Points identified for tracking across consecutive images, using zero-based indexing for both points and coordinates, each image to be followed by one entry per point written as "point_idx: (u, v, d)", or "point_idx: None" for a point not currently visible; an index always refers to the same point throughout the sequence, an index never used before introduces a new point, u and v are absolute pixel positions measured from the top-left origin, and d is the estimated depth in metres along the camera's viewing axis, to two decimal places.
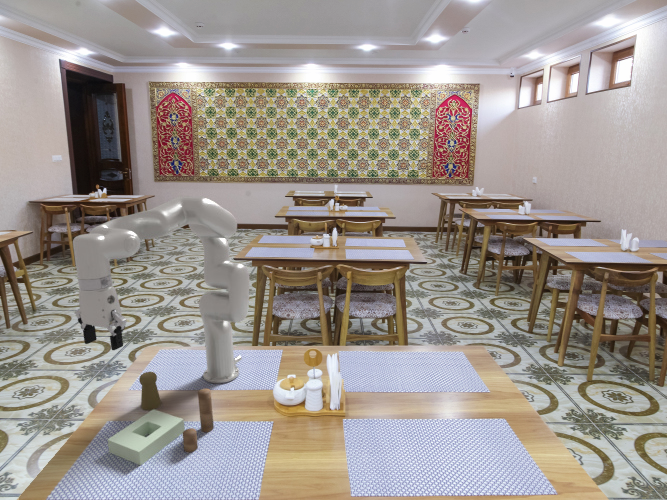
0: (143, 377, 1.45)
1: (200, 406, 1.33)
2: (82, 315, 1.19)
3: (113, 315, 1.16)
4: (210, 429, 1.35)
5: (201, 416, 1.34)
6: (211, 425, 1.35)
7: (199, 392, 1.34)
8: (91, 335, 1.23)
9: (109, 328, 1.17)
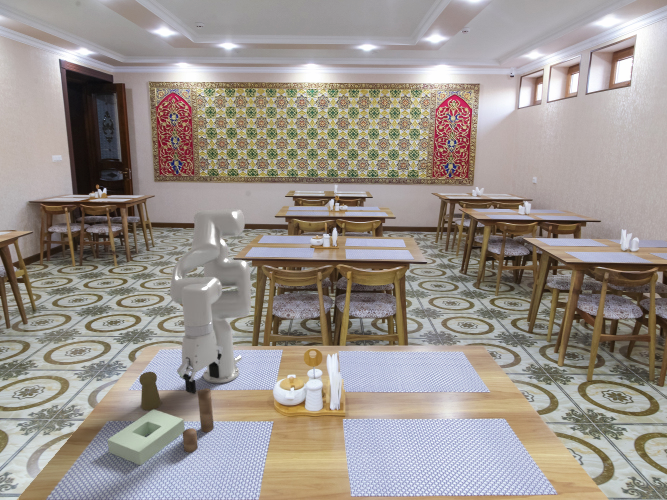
0: (143, 377, 1.45)
1: (200, 406, 1.33)
2: (197, 363, 1.27)
3: None
4: (210, 429, 1.35)
5: (201, 416, 1.34)
6: (211, 425, 1.35)
7: (199, 392, 1.34)
8: None
9: (216, 359, 1.35)
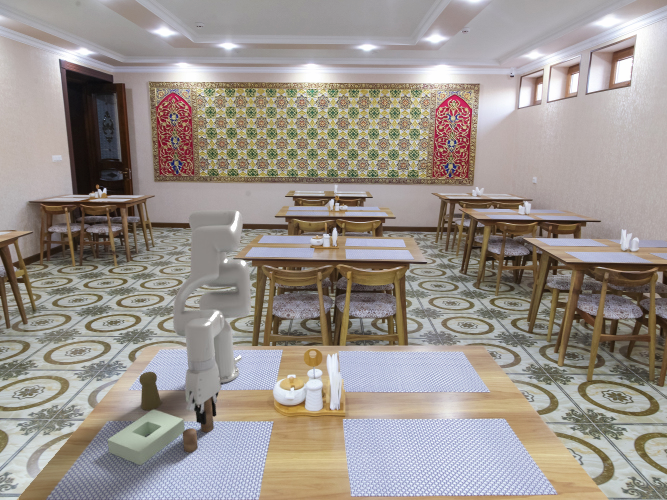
0: (144, 377, 1.45)
1: None
2: (201, 397, 1.30)
3: None
4: (210, 429, 1.35)
5: None
6: (211, 425, 1.35)
7: None
8: None
9: (214, 396, 1.36)
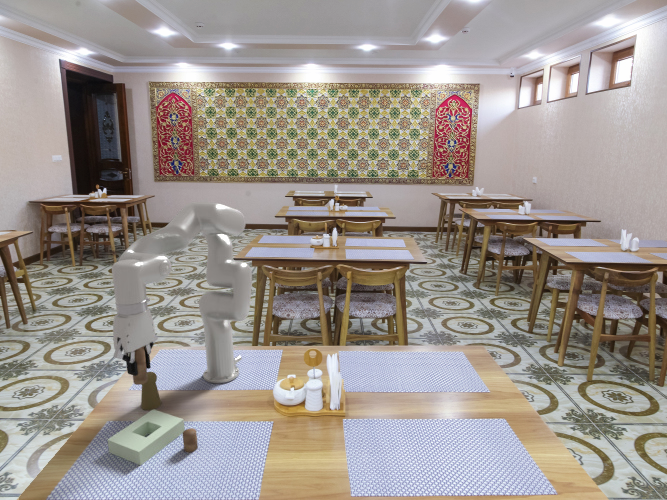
0: None
1: None
2: (130, 344, 1.19)
3: None
4: (143, 382, 1.25)
5: None
6: (144, 377, 1.25)
7: None
8: None
9: (148, 346, 1.26)
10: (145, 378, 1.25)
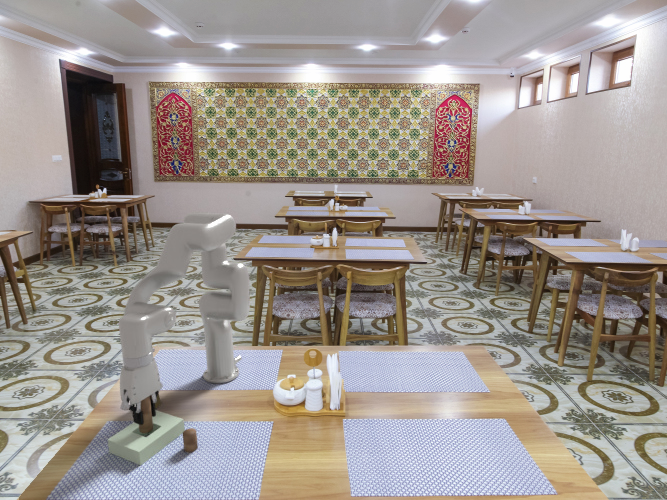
0: None
1: None
2: (136, 395, 1.23)
3: None
4: (149, 430, 1.28)
5: None
6: (150, 426, 1.29)
7: None
8: None
9: (154, 395, 1.29)
10: (151, 426, 1.29)
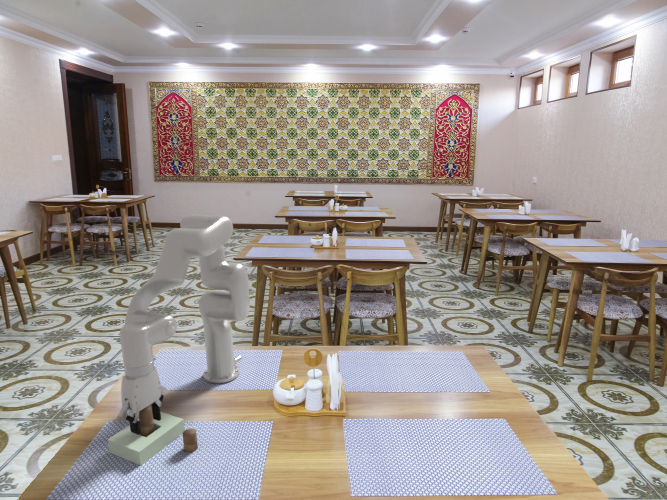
0: None
1: (140, 418, 1.28)
2: (137, 404, 1.24)
3: None
4: None
5: (141, 429, 1.28)
6: None
7: None
8: None
9: (157, 400, 1.31)
10: None
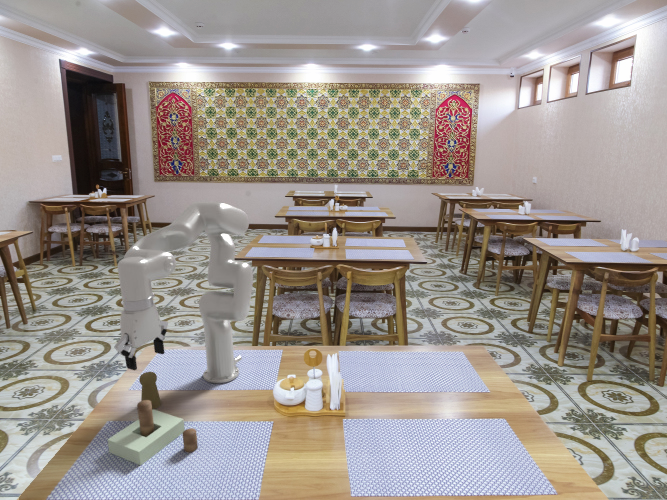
0: (143, 377, 1.45)
1: (140, 418, 1.28)
2: (137, 339, 1.22)
3: (159, 322, 1.31)
4: None
5: (141, 429, 1.28)
6: None
7: (139, 404, 1.28)
8: None
9: (160, 335, 1.30)
10: None
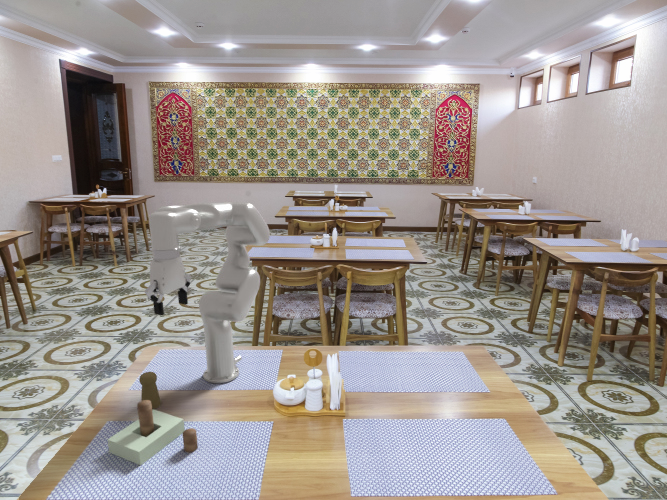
0: (144, 377, 1.45)
1: (140, 418, 1.28)
2: (165, 286, 1.34)
3: None
4: None
5: (141, 429, 1.28)
6: None
7: (139, 404, 1.28)
8: None
9: (184, 286, 1.42)
10: None
